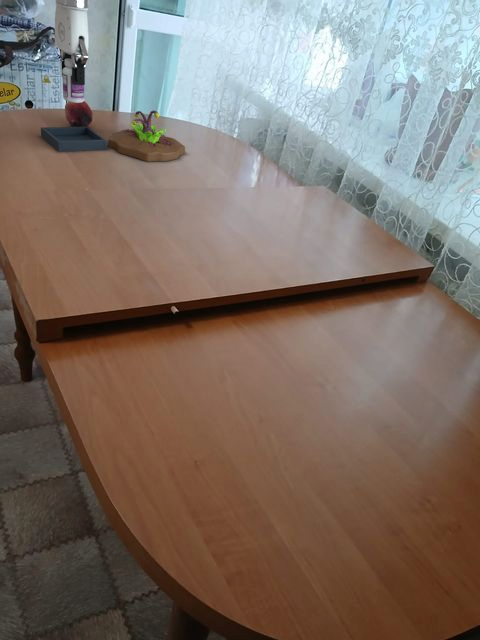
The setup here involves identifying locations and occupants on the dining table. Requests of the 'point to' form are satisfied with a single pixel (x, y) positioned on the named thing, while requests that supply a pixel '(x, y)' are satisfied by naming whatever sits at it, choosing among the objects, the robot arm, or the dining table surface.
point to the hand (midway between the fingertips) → (73, 80)
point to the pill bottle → (71, 85)
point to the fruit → (78, 114)
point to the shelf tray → (73, 138)
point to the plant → (146, 141)
